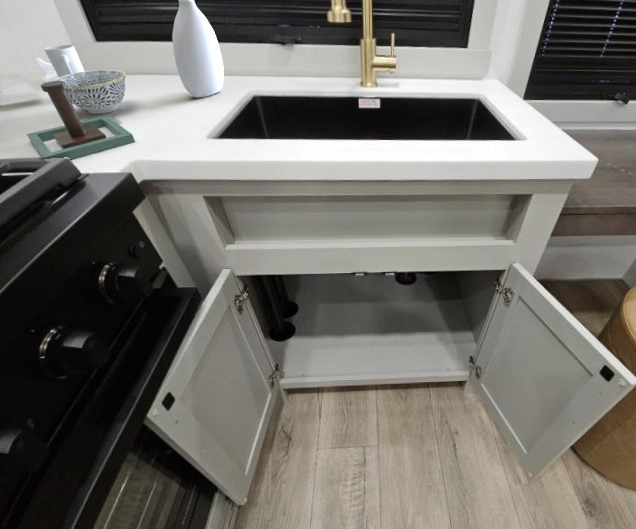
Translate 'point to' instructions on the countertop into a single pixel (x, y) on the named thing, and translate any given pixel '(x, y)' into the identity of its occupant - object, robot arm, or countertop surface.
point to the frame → (84, 149)
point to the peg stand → (69, 118)
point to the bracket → (48, 70)
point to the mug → (64, 59)
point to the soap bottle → (196, 51)
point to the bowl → (95, 89)
